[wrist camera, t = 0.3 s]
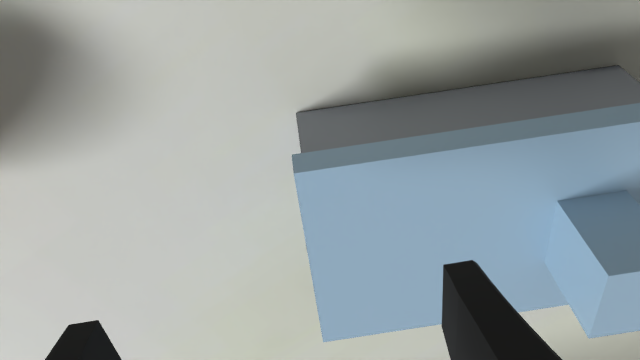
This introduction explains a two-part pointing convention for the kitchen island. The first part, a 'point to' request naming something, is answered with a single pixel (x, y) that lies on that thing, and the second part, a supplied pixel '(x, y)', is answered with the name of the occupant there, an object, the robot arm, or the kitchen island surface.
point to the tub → (466, 108)
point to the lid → (478, 221)
